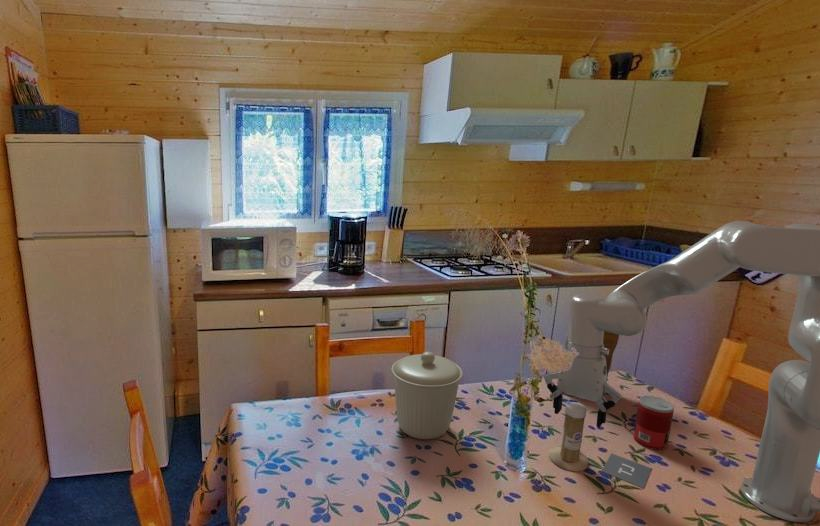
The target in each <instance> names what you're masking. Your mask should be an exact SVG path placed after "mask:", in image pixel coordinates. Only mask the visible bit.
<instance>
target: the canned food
mask: <svg viewBox="0 0 820 526" xmlns="http://www.w3.org/2000/svg"><path fill="white" fill-rule="evenodd" d="M636 410H637V411H636V415H635V423H634V429H633V439H634V440H635V441H636V442H637V444H639V445H641V446H642V447H645V448H647V449H652V450H656V451H657V450H664V449H666V448H667V446H668V443H669V438H670V433H671V428H672V422H673V417H674V411H675V406H674V405H673V403H671V402H670V401H669V400H667V399H664V398H662V397H659V396H654V395H643V396H640V397H639V399H638V404H637V409H636Z"/></svg>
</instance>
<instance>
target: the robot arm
mask: <svg viewBox="0 0 820 526" xmlns="http://www.w3.org/2000/svg"><path fill="white" fill-rule="evenodd" d="M739 268H742V269H743V270H748V271H753V272H761V273H763V272H764V273H769V274H778V275H779V274H780V275H782V274H783V275H795V276H796V278H797V280H798V281H797V283H798V288H797V290H798V291H797V296H796V300H795V306H794V309H793V314H792V317H791V321H790V325H789V329H788V333H787V334H788V335H787V339H788V343H789V346H790V347H791V349H793V350H794V351H795V353H797V354H798V355H799V356H800V357H802V358H803V359H805V360H801V359H790V360H787V361H784V362H781V363H779V364H778V365H777V366H776V367H775V368H774V369H773V370H772V372H771V374H770V377H769V381H768V401H767V412H766V415H765V421H764V426H763V429H762V432H761V433H762V434H761V438H760V441H759V447H758V451H757V456H756V460H755V463H754V464H755V465H754V469H753V473H752V477H750V478H745V479H743V481H742V482H741V484H740V485H741V486H740V489H741V492H742V494H743V496H744V498H746V499H747V501H749V503H751V504H752V505H753V506H755V507H757V508H758V509H760V510H762V511H763V512H765V513H767V514H769V515H771V516H774V517H776V518H778V519H782V520H786V521H787V522H794V523H808V522H811V521H813V519H814V518H815V515H816V512H820V497H818V496H816V495H814V493H812V491H811V490H812V489H811V488H812V485H813V480H814V477H815V474H816V469H817V466H818V462H819V457H820V225H816V224H811V223H802V222H800V223H791V224H789V225H785V226H784V227H780V226H772V225H762V224H758V223H755V222H751V221H747V220H746V221H745V220H734V221H730V222H727V223H726V224H723V225H721V226H719V227H718V228H717V229H715V230H714V231H712V232H711V233H709V234H708V235H706V236H705V237H703V238H702V239H700V240H698V241H697V242H695V243H694V244H693V245H691V246H690V247H688V248H687V249H685V250H682V252H681V253H679V254H677V255H675V257H673V258H671V259H669V260H668V261H665V262H662V263H660V264H659V265H657V266H654V267H652V268H649V269H647V270H645V271H643V272H642V273H640V274H638V275H636V276H634V277H632V278H631V279H629V280H628V281H626V282H625V283H623V284H621V285H620V286H619V287H617V288H616V289H614V290H612V291H611V293H609V294H608V295H607V297H605V298H603V297H602V296H600V295H596V294H592V293H591V294H589V293H579V294H575V295H573V296H572V298H571V299H570V303H569V318H568V328H567V329H568V330H567V337H568V340H567V339H566V341H567V349H566V348H565V349H564V351H570V350H571V348H572V347H574V348H575V349H576V350H577V352H579V355H578V356H577V357H576V358H575V359H574V361H573V364H572V367H571V369H570V370H568V371H565V372H561V373H556V374H550V373H546V374H545V375H544V376H543V380H544V382H545V384H546V387H547V389H548V390H549V392H550V393H551V396H552V398H553V401H552V403H553V404H552V409H554V412H553V413H554V414H556V415H558V414H559V413H560V412H561V411H562V409H563V399H564V398H563V395H564V394H563V393H566V394H569V395H572V396H571V397H574V396H575V397H577V398H579V399H583V400H587V401H590V402H595V404H596V405H597V407H598V408H599V409H598V410H597V413H596V414H597V415H596V424H595V425H596V427H597V428H601V427H602V425H603V424H605V423H607V422H606V421H607V411H608V410H611V409H612V408H614V407H615V406H616V404H618V402H619V401H620V400H621V398H622V394H621V393H620V392H619V391H617V390H616V389H615V388H614V387H612V386H611V385H610V384H608V378H607V366H606V358H605V356H603V355H608V354H609V349H606V348H604V344H603V337H604V331H606V332H610V333H614V334H618V335H619V336H624V337H633V336H636V335H639V334H640V333H641V332H643V331H644V329H645V328H646V326H647V321H648V319H647V315H646V312H645V311H644V310H645V309H647V308H649V307H650V306H652V305H653V304H655V303H658V302H660V301H661V300H663V299H667V298H671V297H676V296H690V295H694V294H698V293H701V292H702V291H704V290H705V289H707V288H708V287H711V286H712V285H713V284H715V283H716V282H719V281H720V280H722V279H723V278H725V277H726V276H728V275H730V274H731V273H733V272H735V271H736V270H737V269H739ZM574 348H573V349H574ZM553 380H557V385H556V384H555V383H554V381H553ZM606 392H607V393H606ZM605 393H606V394H608V395H610V396H611V397H612V398H611V399H609V400H607V399H606V398H605V396H606V394H605Z"/></svg>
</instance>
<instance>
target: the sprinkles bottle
mask: <svg viewBox="0 0 820 526" xmlns="http://www.w3.org/2000/svg"><path fill="white" fill-rule="evenodd" d="M564 410H565V412H564V414H565V416H564V423H563V428H562V429H563V430H562V437H561V452H560V456H561V458H562V459H563V460H565V461H567V462H572V463H574V462H578V461H579V459H580V457H579V455H580V452H581V449H582V448H581V447H582V441H583V433H584V425H585V419H586V416H587V407H586V406H585V405H583V404H582V403H580V402H575V401H572V402H567V403H566V404H565V409H564Z"/></svg>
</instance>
